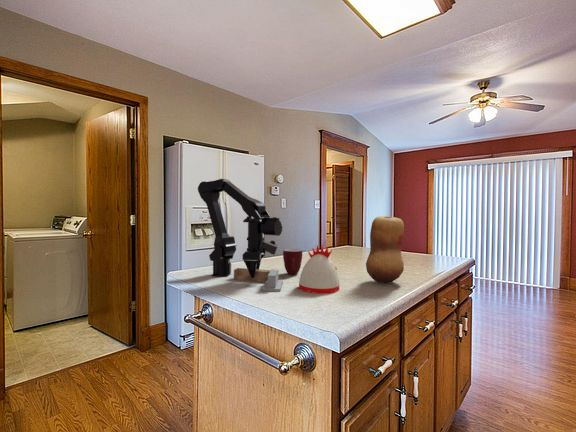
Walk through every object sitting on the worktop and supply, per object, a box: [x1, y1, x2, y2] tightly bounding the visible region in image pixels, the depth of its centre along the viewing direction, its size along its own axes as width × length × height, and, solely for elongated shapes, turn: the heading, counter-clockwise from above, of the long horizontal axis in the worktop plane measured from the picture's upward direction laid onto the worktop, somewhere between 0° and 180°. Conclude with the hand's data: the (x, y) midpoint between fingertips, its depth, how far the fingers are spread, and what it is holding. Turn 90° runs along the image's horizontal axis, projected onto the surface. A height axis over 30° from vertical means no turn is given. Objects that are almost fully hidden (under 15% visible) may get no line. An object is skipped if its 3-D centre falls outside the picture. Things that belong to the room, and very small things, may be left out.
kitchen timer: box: [298, 244, 340, 295], centre depth 107 cm, size 14×14×15 cm
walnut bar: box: [233, 267, 272, 283], centre depth 118 cm, size 16×4×4 cm, turn 75°
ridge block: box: [261, 269, 284, 292], centre depth 108 cm, size 6×12×5 cm, turn 177°
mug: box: [282, 248, 303, 276], centre depth 128 cm, size 11×8×10 cm
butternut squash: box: [365, 215, 405, 284], centre depth 116 cm, size 14×13×25 cm
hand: (255, 275), depth 118 cm, fingers open, 9 cm apart
